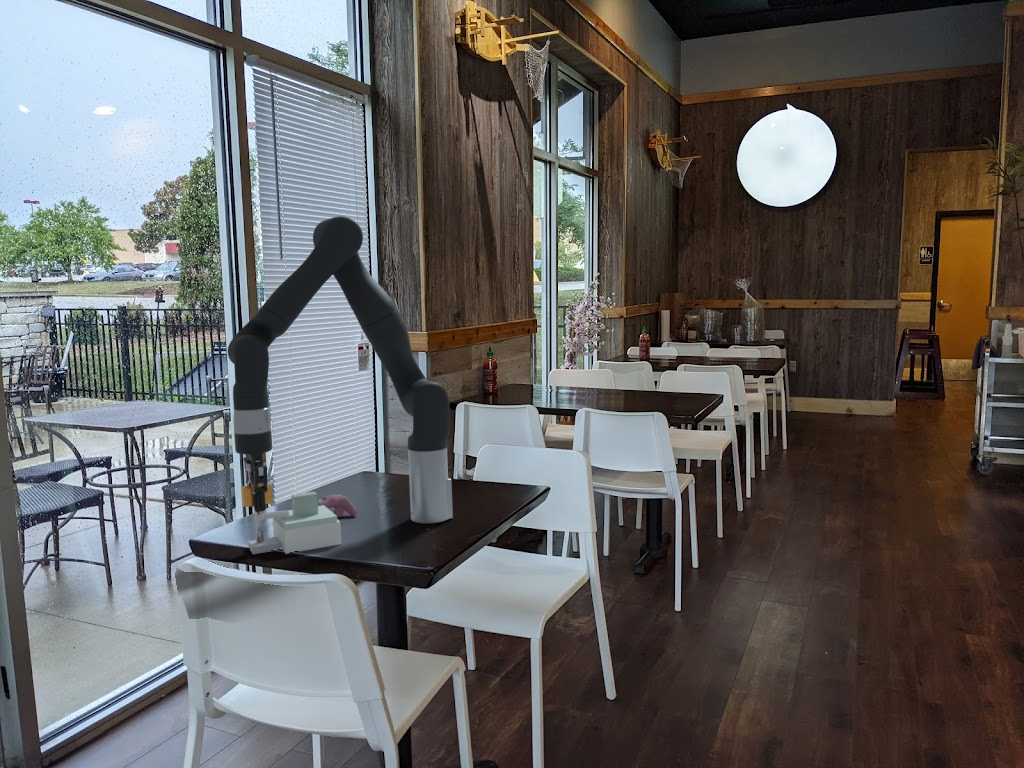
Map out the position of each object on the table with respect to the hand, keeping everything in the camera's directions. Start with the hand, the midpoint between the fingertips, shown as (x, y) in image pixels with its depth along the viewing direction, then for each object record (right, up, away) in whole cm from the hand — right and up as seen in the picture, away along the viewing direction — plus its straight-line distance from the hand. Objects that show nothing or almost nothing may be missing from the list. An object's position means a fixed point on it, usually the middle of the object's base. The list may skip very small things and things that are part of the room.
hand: (257, 508), depth 172 cm
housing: (+6, -9, +4) cm, 11 cm away
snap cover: (+9, -3, +5) cm, 11 cm away
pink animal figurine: (+12, -7, +23) cm, 27 cm away
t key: (+2, -7, +2) cm, 7 cm away
